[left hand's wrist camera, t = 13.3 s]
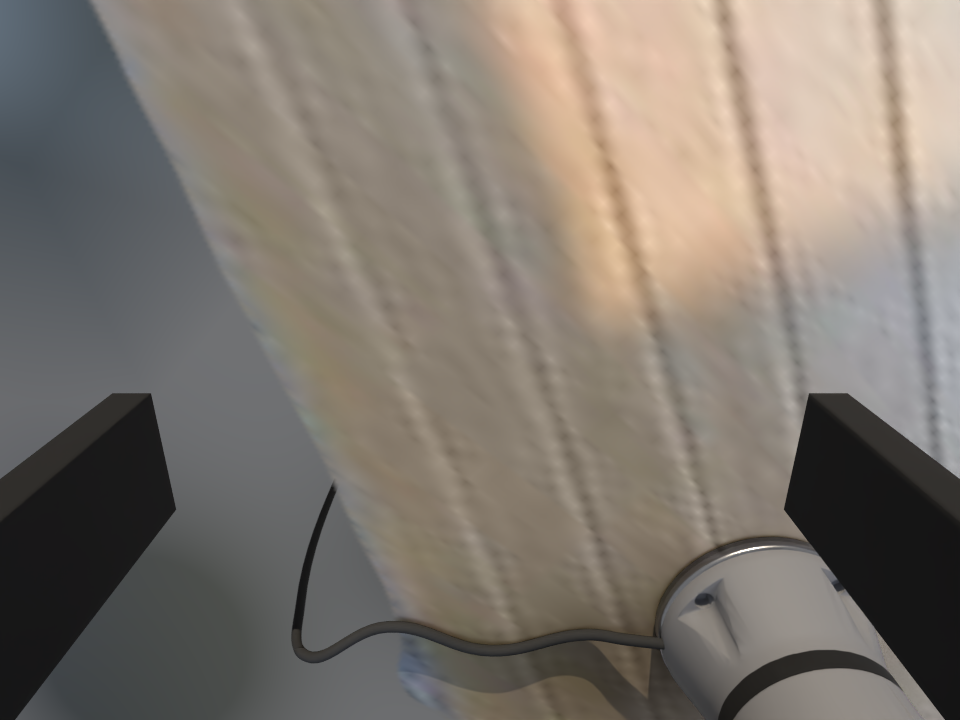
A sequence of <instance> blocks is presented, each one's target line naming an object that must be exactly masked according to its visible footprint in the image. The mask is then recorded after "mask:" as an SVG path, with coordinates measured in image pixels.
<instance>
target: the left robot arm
mask: <svg viewBox="0 0 960 720" xmlns="http://www.w3.org/2000/svg"><path fill="white" fill-rule="evenodd" d="M336 492H337V488H336V486H335V484H334V481H333V483H332V485H331V488H330V490H329V492H328V495H327V497H326V499H325V502H324V504H323V507H322V509H321V512H320V514H319V517H318V519H317V522H316V525H315V528H314V530H313V533H312V536H311V539H310V542H309V545H308V549H307V552H306V556H305V559H304V563H303V567H302V572H301V576H300V581H299V586H298V592H297V599H296V605H295V612H294V618H293V625H292V632H291V642H292V647H293V650H294V652H295V654H296V656H297V657H298V658H299V659H301V660H303V661H305V662H308V663H320V662H324V661H326V660H328V659H330V658H332V657H334V656H336V655H338V654H339V653H341V652H342V651H344V650H345V649H347V648H349V647H350V646H352V645H354V644H355V643H357V642H359V641H361V640H363V639H365V638H367V637H370V636H373V635H376V634H380V633H391V632H392V633H406V634H411V635H416V636H419V637H423V638H426V639H429V640H431V641H434V642H437V643H439V644H442V645H444V646H447V647H449V648H452V649H455V650H458V651H461V652H465V653H469V654H474V655H480V656H510V655H517V654H522V653H526V652H530V651H534V650H538V649H542V648H545V647H549V646H553V645H557V644H561V643H566V642H573V641H585V640H594V641H603V642H609V643H614V644H620V645H627V646H635V647H643V648H652V649H660V652H661V655H662V657H663V660H664V663H665V665H666V666H667V668H668V670H669V672H670V674H671V675H672V677H673V679H674V680H675V682H676V683H677V684H678V685H679V687H680V688H681V689H682V690H683V692H684V693H685V694H686V696H687V697H688V698H689V699H690V701H691V702H692V703H693V704H694V706H695V707H696V708H697V709H698V711H699V712H700V713H701V714H702V716H703V717H704V718H705V719H706V720H924V719H923V717H922V716H921V715H920V713H919V712H918V711H917V709H916V708H915V707H914V705H913V704H912V702H911V701H910V700H909V698H908V697H907V696H906V694H905V693H904V692H903V690H902V689H901V688H900V686H899V685H898V683H897V682H896V681H895V679H894V678H893V677H892V675H891V674H890V673H889V671H888V670H887V667H886V664H885V660H884V657H883V654H882V651H881V647H880V644H879V641H878V638H877V635H876V631H875V629H876V630H877V632H878V633H879V634H880V636H881V637H882V638H883V639H884V641H885V642H886V643H887V645H888V646H889V647H890V649H891V650H892V651H893V652H894V654H895V655H896V656H897V658H898V659H899V660H900V662H901V663H902V664H903V666H904V667H905V668H906V669H907V671H908V672H909V673H910V675H911V676H912V677H913V679H914V680H915V681H916V683H917V684H918V685H919V686H920V688H921V689H922V690H923V692H924V693H925V694H926V696H927V697H928V698H929V699H930V701H931V702H932V703H933V705H934V706H935V707H936V709H937V710H938V711H939V713H940V714H941V715H942V716H943V718H944V719H945V720H960V479H959V478H958V477H956V476H955V475H954V474H952V473H951V472H950V471H948V470H947V469H946V468H944V467H943V466H942V465H941V464H939V463H938V462H937V461H935V460H934V459H933V458H931V457H930V456H929V455H927V454H926V453H925V452H924V451H922V450H921V449H920V448H918V447H917V446H916V445H914V444H913V443H912V442H910V441H909V440H908V439H906V438H905V437H904V436H903V435H901V434H900V433H899V432H897V431H896V430H895V429H893V428H892V427H891V426H889V425H888V424H887V423H886V422H884V421H883V420H882V419H880V418H879V417H878V416H876V415H875V414H874V413H872V412H871V411H870V410H869V409H867V408H866V407H865V406H863V405H862V404H861V403H859V402H858V401H857V400H855V399H854V398H853V397H851V396H850V395H849V394H848V393H809V396H808V401H807V405H806V410H805V415H804V419H803V424H802V429H801V433H800V438H799V442H798V447H797V452H796V456H795V461H794V465H793V470H792V475H791V479H790V484H789V488H788V493H787V498H786V502H785V507H784V510H785V512H786V513H787V514H788V515H789V517H790V518H791V519H792V521H793V522H794V523H795V525H796V526H797V527H798V528H799V530H800V531H801V532H802V534H803V535H804V536H805V538H806V539H807V540H808V542H809V543H807V542H804V541H800V540H796V539H790V538H782V537H761V538H752V539H746V540H742V541H737V542H734V543H731V544H727V545H725V546H722V547H720V548H717V549H715V550H713V551H711V552H709V553H707V554H705V555H703V556H702V557H700V558H698V559H697V560H695V561H694V562H693V563H691V564H690V565H689V566H687V567H686V568H685V569H684V570H683V571H682V572H681V573H680V574H679V575H678V576H677V577H676V578H675V579H674V580H673V581H672V583H671V584H670V585H669V587H668V588H667V590H666V591H665V593H664V595H663V597H662V599H661V601H660V603H659V606H658V609H657V613H656V619H655V633H656V637H650V636H640V635H632V634H624V633H617V632H612V631H606V630H599V629H577V630H569V631H563V632H558V633H554V634H550V635H546V636H542V637H539V638H535V639H532V640H528V641H524V642H519V643H513V644H506V645H483V644H476V643H471V642H467V641H464V640H461V639H457V638H455V637H452V636H449V635H447V634H444V633H442V632H439V631H437V630H434V629H431V628H429V627H426V626H422V625H419V624H414V623H410V622H401V621H386V622H378V623H375V624H371V625H368V626H366V627H363V628H361V629H359V630H357V631H355V632H353V633H352V634H350V635H348V636H347V637H345V638H343V639H342V640H340V641H339V642H337V643H335V644H334V645H332V646H330V647H328V648H326V649H324V650H322V651H318V652H311V651H308V650H307V649H306V648H305V647H304V646H303V644H302V636H301V635H302V624H303V618H304V611H305V603H306V595H307V588H308V582H309V577H310V572H311V567H312V563H313V559H314V555H315V551H316V547H317V544H318V541H319V538H320V534H321V531H322V528H323V525H324V523H325V520H326V517H327V514H328V512H329V509H330V507H331V504H332V501H333V499H334V496H335V494H336ZM175 510H176V507H175V503H174V498H173V493H172V488H171V484H170V479H169V475H168V470H167V465H166V461H165V456H164V452H163V447H162V442H161V438H160V433H159V429H158V424H157V419H156V415H155V410H154V405H153V401H152V396H151V394H150V393H113V394H111V395H110V396H109V397H107V398H106V399H105V400H103V401H102V402H101V403H99V404H98V405H97V406H95V407H94V408H93V409H91V410H90V411H89V412H88V413H86V414H85V415H84V416H82V417H81V418H80V419H79V420H77V421H76V422H74V423H73V424H72V425H71V426H69V427H68V428H67V429H65V430H64V431H63V432H61V433H60V434H59V435H57V436H56V437H55V438H54V439H52V440H51V441H50V442H48V443H47V444H46V445H44V446H43V447H42V448H40V449H39V450H38V451H36V452H35V453H34V454H33V455H31V456H30V457H29V458H27V459H26V460H25V461H23V462H22V463H21V464H20V465H18V466H17V467H16V468H14V469H13V470H12V471H10V472H9V473H8V474H6V475H5V476H4V477H2V478H1V479H0V720H15V719H16V718H17V716H18V715H19V714H20V712H21V711H22V710H23V709H24V707H25V706H26V705H27V703H28V702H29V701H30V699H31V698H32V697H33V696H34V694H35V693H36V692H37V690H38V689H39V688H40V686H41V685H42V684H43V683H44V681H45V680H46V679H47V677H48V676H49V675H50V673H51V672H52V671H53V669H54V668H55V667H56V666H57V664H58V663H59V662H60V660H61V659H62V658H63V656H64V655H65V654H66V652H67V651H68V650H69V649H70V647H71V646H72V645H73V643H74V642H75V641H76V639H77V638H78V637H79V635H80V634H81V633H82V632H83V630H84V629H85V628H86V626H87V625H88V624H89V622H90V621H91V620H92V619H93V617H94V616H95V615H96V613H97V612H98V611H99V609H100V608H101V607H102V605H103V604H104V603H105V602H106V600H107V599H108V598H109V596H110V595H111V594H112V592H113V591H114V590H115V588H116V587H117V586H118V585H119V583H120V582H121V581H122V579H123V578H124V577H125V575H126V574H127V573H128V572H129V570H130V569H131V568H132V566H133V565H134V564H135V562H136V561H137V560H138V558H139V557H140V556H141V555H142V553H143V552H144V551H145V549H146V548H147V547H148V545H149V544H150V543H151V542H152V540H153V539H154V538H155V536H156V535H157V534H158V532H159V531H160V530H161V528H162V527H163V526H164V525H165V523H166V522H167V521H168V519H169V518H170V517H171V515H172V514H173V513H174V512H175Z"/></svg>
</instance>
